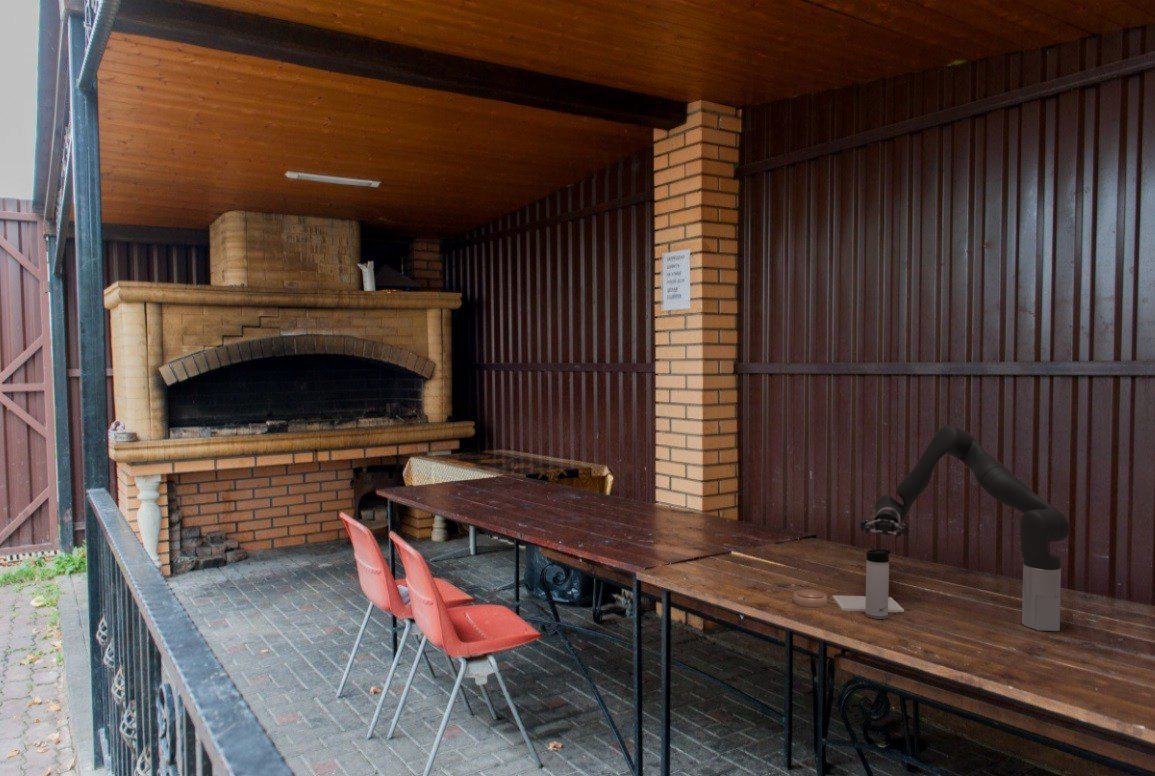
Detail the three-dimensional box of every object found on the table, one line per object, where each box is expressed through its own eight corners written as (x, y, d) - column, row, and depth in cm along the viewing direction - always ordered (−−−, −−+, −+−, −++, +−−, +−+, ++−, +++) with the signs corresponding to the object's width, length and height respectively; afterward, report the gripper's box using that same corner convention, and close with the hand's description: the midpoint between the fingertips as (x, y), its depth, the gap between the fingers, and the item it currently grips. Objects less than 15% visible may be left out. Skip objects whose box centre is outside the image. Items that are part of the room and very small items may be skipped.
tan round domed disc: (830, 607, 245) (830, 598, 245) (796, 606, 246) (796, 597, 246) (823, 598, 255) (823, 588, 255) (791, 597, 256) (791, 587, 256)
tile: (904, 612, 240) (904, 609, 240) (842, 610, 242) (842, 607, 242) (891, 599, 253) (891, 596, 253) (832, 597, 255) (832, 595, 255)
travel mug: (886, 621, 232) (888, 552, 232) (863, 617, 236) (864, 549, 235) (891, 615, 238) (892, 548, 237) (868, 611, 241) (869, 545, 240)
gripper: (864, 506, 264) (858, 517, 249) (911, 511, 257) (908, 523, 243) (863, 529, 264) (857, 541, 250) (910, 534, 258) (907, 547, 244)
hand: (882, 532), depth 246 cm, fingers open, 8 cm apart
